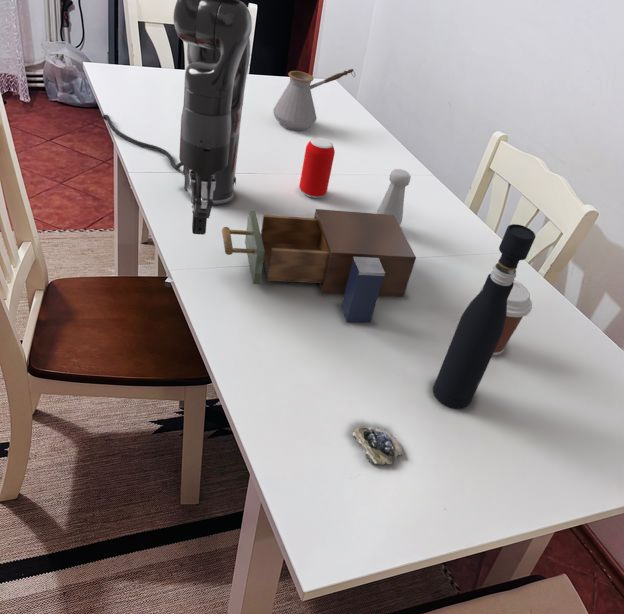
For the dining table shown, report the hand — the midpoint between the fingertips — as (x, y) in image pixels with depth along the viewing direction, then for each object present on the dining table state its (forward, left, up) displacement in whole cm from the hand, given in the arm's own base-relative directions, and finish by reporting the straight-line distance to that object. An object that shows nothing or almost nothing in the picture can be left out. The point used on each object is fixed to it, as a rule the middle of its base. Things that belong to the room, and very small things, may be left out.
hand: (198, 232), depth 113 cm
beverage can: (-3, +41, -7) cm, 41 cm away
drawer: (+10, +10, -6) cm, 15 cm away
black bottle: (+50, +4, -7) cm, 51 cm away
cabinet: (+21, +21, -7) cm, 30 cm away
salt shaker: (+16, +42, -7) cm, 45 cm away
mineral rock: (+46, -14, -7) cm, 49 cm away
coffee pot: (-26, +73, -7) cm, 77 cm away
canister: (+28, +10, -7) cm, 31 cm away
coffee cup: (+49, +21, -7) cm, 54 cm away
